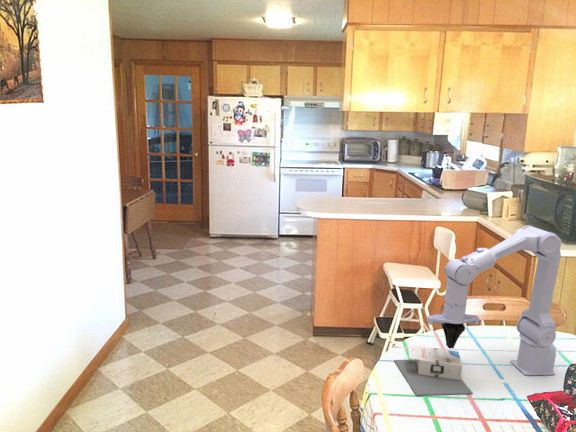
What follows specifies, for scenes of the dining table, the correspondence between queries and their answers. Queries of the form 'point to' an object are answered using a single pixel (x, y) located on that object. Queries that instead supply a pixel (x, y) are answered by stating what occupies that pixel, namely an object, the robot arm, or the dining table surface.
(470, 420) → the dining table surface
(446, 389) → the rubber mat
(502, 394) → the dining table surface
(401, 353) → the dining table surface
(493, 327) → the dining table surface
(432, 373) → the ink box
